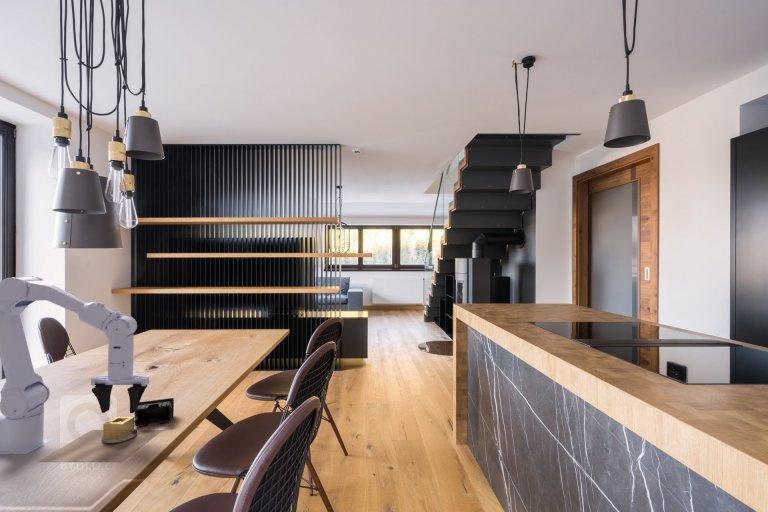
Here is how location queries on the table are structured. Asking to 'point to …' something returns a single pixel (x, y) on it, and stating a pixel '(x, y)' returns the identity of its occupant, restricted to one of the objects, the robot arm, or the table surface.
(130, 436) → the stand
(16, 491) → the table surface
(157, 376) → the table surface
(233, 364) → the table surface
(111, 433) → the collar
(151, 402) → the end cap
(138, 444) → the board
